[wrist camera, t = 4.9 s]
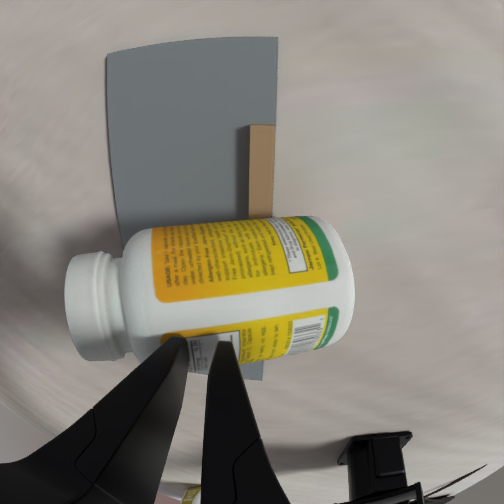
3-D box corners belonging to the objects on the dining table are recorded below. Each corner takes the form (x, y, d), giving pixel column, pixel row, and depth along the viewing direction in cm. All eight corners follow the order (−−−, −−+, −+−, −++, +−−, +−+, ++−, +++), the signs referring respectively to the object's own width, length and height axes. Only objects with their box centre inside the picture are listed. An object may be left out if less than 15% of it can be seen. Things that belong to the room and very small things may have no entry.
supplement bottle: (359, 361, 10) (81, 408, 8) (300, 325, 15) (108, 352, 13) (354, 208, 10) (44, 237, 7) (292, 217, 15) (90, 237, 12)
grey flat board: (262, 377, 20) (261, 388, 19) (153, 362, 21) (148, 372, 20) (277, 38, 11) (277, 33, 10) (110, 54, 11) (99, 52, 10)
